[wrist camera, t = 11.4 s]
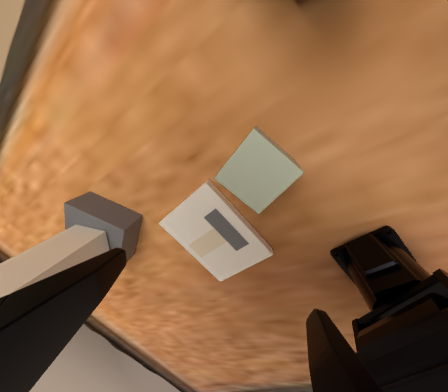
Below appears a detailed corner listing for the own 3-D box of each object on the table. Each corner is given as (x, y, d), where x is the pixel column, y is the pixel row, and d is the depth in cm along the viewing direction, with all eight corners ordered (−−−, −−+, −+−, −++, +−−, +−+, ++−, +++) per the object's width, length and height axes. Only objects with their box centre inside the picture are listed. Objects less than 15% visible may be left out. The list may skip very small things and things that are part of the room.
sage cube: (293, 158, 18) (304, 172, 13) (259, 192, 20) (258, 214, 15) (255, 125, 17) (253, 128, 13) (225, 164, 19) (213, 178, 15)
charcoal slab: (144, 213, 25) (124, 230, 21) (135, 252, 28) (117, 271, 25) (92, 190, 25) (64, 202, 21) (91, 231, 28) (66, 248, 25)
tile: (272, 248, 22) (273, 255, 21) (221, 275, 26) (220, 282, 25) (208, 178, 20) (205, 182, 19) (163, 218, 24) (158, 223, 23)
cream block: (105, 231, 22) (-57, 337, 11) (111, 258, 23) (-24, 375, 12) (75, 224, 22) (-105, 318, 11) (83, 251, 24) (-67, 356, 13)
